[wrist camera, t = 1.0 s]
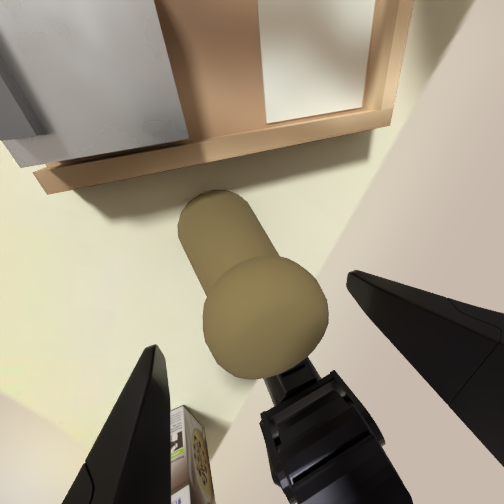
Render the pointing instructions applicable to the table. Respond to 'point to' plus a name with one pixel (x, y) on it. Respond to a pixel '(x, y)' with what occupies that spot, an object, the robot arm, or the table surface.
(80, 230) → the table surface
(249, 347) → the olive pawn
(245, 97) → the frame
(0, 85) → the gray slider block
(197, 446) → the coffee box
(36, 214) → the table surface
